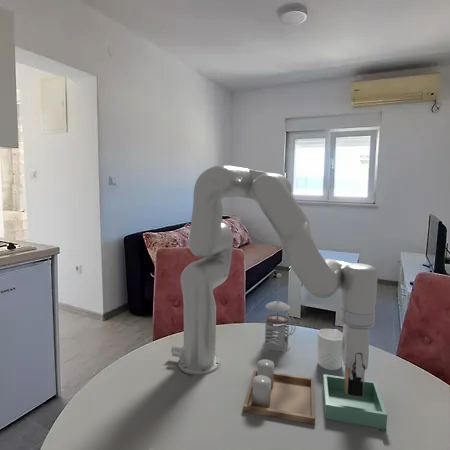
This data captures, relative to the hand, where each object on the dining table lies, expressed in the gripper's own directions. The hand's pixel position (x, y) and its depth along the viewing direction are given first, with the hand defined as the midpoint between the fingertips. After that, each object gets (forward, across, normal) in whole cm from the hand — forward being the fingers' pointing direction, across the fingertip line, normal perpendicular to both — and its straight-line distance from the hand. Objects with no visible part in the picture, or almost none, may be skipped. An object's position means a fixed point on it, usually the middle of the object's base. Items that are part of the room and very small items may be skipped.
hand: (353, 388), depth 81 cm
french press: (+5, -27, -20) cm, 34 cm away
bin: (+5, 0, 0) cm, 5 cm away
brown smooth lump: (+1, 0, 0) cm, 1 cm away
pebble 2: (+4, +5, -22) cm, 23 cm away
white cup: (+5, -19, -4) cm, 20 cm away
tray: (+5, +1, -17) cm, 18 cm away
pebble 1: (+4, -3, -22) cm, 22 cm away
